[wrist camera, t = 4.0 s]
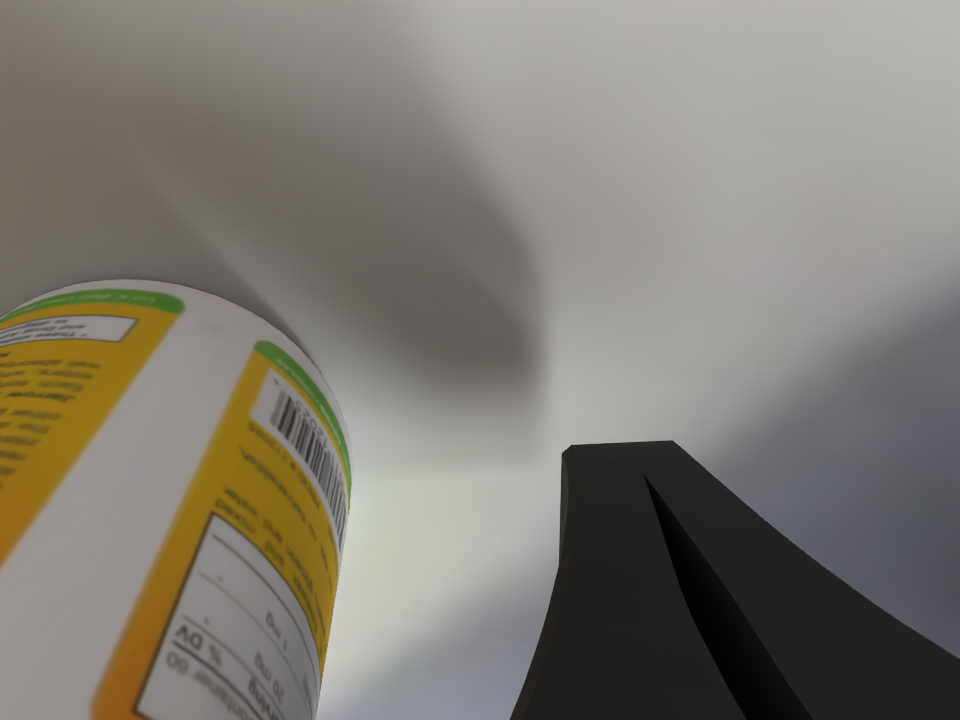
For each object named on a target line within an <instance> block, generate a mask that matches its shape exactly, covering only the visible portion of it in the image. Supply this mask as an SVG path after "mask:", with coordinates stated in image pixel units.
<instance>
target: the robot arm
mask: <svg viewBox="0 0 960 720" xmlns="http://www.w3.org/2000/svg"><path fill="white" fill-rule="evenodd" d="M510 720H960V659H958V658H957V657H955V656H954V655H952V654H950V653H949V652H947V651H946V650H944V649H943V648H941V647H939V646H938V645H936V644H935V643H933V642H932V641H930V640H928V639H927V638H925V637H924V636H922V635H920V634H919V633H917V632H916V631H914V630H913V629H911V628H909V627H908V626H906V625H905V624H903V623H902V622H900V621H899V620H897V619H896V618H894V617H893V616H891V615H890V614H888V613H887V612H885V611H884V610H882V609H881V608H880V607H878V606H877V605H875V604H874V603H872V602H871V601H869V600H868V599H867V598H865V597H864V596H863V595H861V594H860V593H859V592H857V591H856V590H854V589H853V588H852V587H850V586H849V585H848V584H846V583H845V582H844V581H842V580H841V579H839V578H838V577H837V576H835V575H834V574H833V573H831V572H830V571H828V570H827V569H826V568H824V567H823V566H822V565H820V564H819V563H818V562H816V561H815V560H814V559H813V558H811V557H810V556H809V555H807V554H806V553H805V552H804V551H802V550H801V549H800V548H798V547H797V546H796V545H795V544H793V543H792V542H791V541H790V540H788V539H787V538H786V537H785V536H783V535H782V534H781V533H780V532H779V531H777V530H776V529H775V528H774V527H772V526H771V525H770V524H769V523H768V522H766V521H765V520H764V519H763V518H762V517H760V516H759V515H758V514H757V513H756V512H754V511H753V510H752V509H751V508H750V507H749V506H747V505H746V504H745V503H744V502H743V501H742V500H740V499H739V498H738V497H737V496H736V495H735V494H733V493H732V492H731V491H730V490H729V489H728V488H727V487H725V486H724V485H723V484H722V483H721V482H720V481H719V480H717V479H716V478H715V477H714V476H713V475H712V474H711V473H709V472H708V471H707V470H706V469H705V468H704V467H703V466H702V465H700V464H699V463H698V462H697V461H696V460H695V459H694V458H693V457H691V456H690V455H689V454H688V453H687V452H686V451H684V450H683V449H682V448H681V447H680V446H679V445H677V444H676V443H675V442H674V441H672V440H671V441H649V442H627V443H605V444H583V445H571V446H570V447H569V448H568V449H566V450H565V451H564V452H563V453H562V467H561V506H560V545H559V567H558V571H557V575H556V579H555V583H554V588H553V592H552V596H551V600H550V604H549V608H548V612H547V615H546V619H545V622H544V625H543V629H542V632H541V635H540V639H539V642H538V645H537V648H536V651H535V654H534V657H533V660H532V662H531V665H530V668H529V671H528V674H527V677H526V680H525V682H524V685H523V688H522V690H521V693H520V695H519V698H518V700H517V703H516V705H515V708H514V710H513V713H512V715H511V718H510Z"/></svg>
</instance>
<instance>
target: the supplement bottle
mask: <svg viewBox="0 0 960 720" xmlns="http://www.w3.org/2000/svg"><path fill="white" fill-rule="evenodd" d="M351 485H352V453H351V446H350V440H349V436H348V431H347V427H346V424H345V421H344V417H343V415H342V412H341V410H340V407H339V405H338V402H337V400H336V399H335V397H334V395H333V393H332V391H331V389H330V387H329V386H328V384H327V382H326V381H325V379H324V378H323V377H322V375H321V374H320V372H319V371H318V370H317V368H316V367H315V366H314V365H313V363H312V362H311V361H310V360H309V358H308V357H307V356H306V355H305V354H304V353H303V352H302V351H301V349H300V348H299V347H298V346H297V345H295V344H294V343H293V342H292V341H291V340H290V339H289V338H288V337H286V336H285V335H284V334H283V333H282V332H281V331H279V330H278V329H276V328H275V327H274V326H272V325H271V324H269V323H268V322H267V321H265V320H264V319H262V318H260V317H259V316H257V315H256V314H254V313H252V312H250V311H248V310H246V309H244V308H242V307H240V306H238V305H237V304H235V303H232V302H230V301H228V300H225V299H223V298H221V297H218V296H216V295H213V294H210V293H207V292H204V291H201V290H197V289H193V288H190V287H186V286H182V285H177V284H172V283H166V282H159V281H151V280H135V279H117V280H101V281H93V282H86V283H80V284H75V285H71V286H67V287H63V288H60V289H57V290H54V291H51V292H48V293H45V294H43V295H40V296H38V297H36V298H33V299H31V300H29V301H27V302H25V303H23V304H21V305H20V306H18V307H16V308H15V309H13V310H12V311H10V312H9V313H7V314H6V315H4V316H2V317H1V318H0V720H315V718H316V713H317V707H318V701H319V696H320V690H321V683H322V677H323V670H324V664H325V658H326V652H327V646H328V641H329V635H330V628H331V621H332V614H333V608H334V602H335V596H336V590H337V584H338V578H339V572H340V566H341V560H342V554H343V547H344V541H345V535H346V528H347V521H348V515H349V509H350V495H351Z"/></svg>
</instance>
